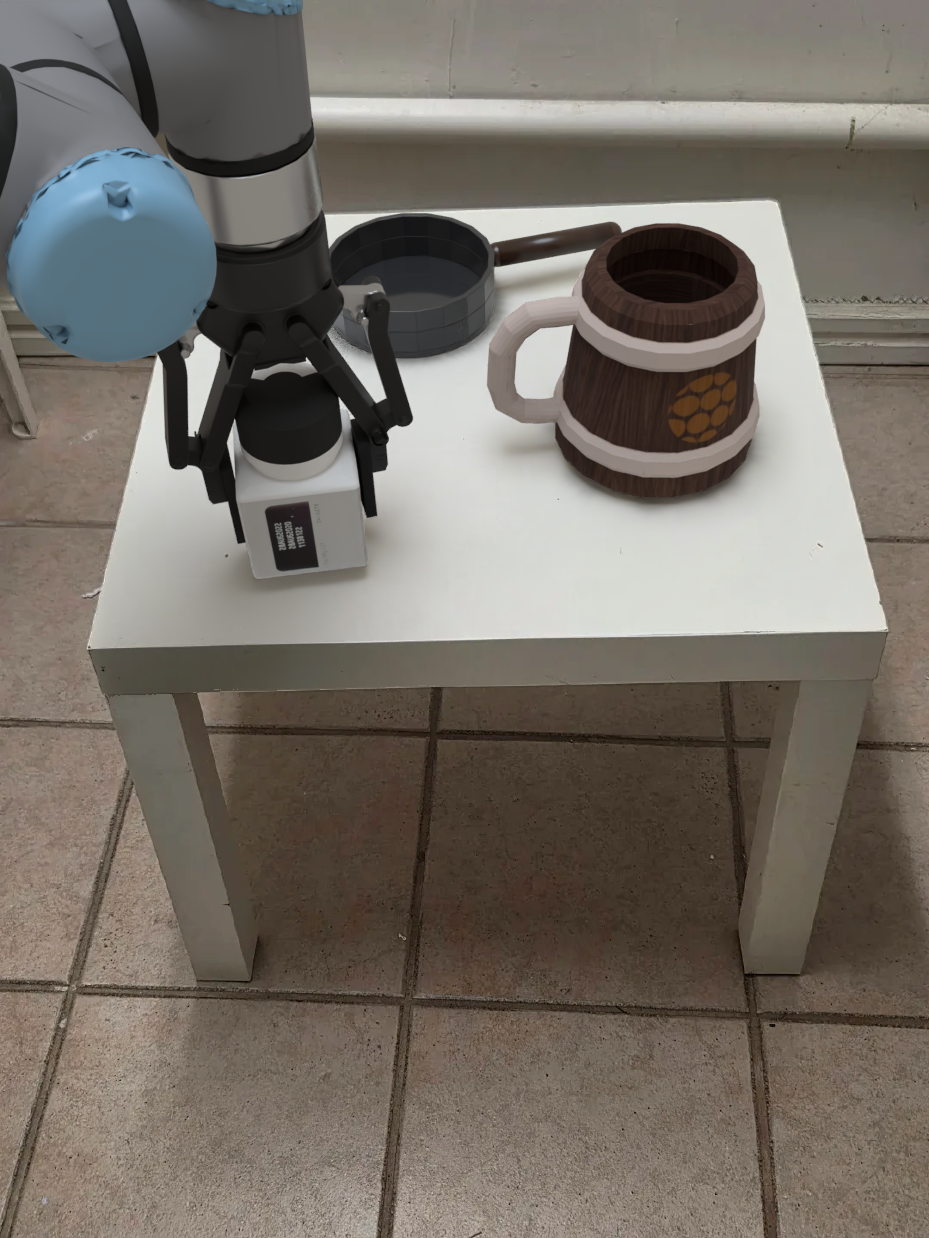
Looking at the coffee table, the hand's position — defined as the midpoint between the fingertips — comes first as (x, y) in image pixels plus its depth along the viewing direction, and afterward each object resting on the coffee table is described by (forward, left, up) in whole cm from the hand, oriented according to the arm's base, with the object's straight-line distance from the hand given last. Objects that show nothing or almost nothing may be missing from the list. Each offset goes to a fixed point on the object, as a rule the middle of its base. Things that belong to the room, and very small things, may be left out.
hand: (304, 516), depth 81 cm
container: (0, 0, -2) cm, 2 cm away
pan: (+13, +25, -3) cm, 29 cm away
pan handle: (+26, +25, 0) cm, 36 cm away
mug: (+24, +4, -3) cm, 25 cm away
